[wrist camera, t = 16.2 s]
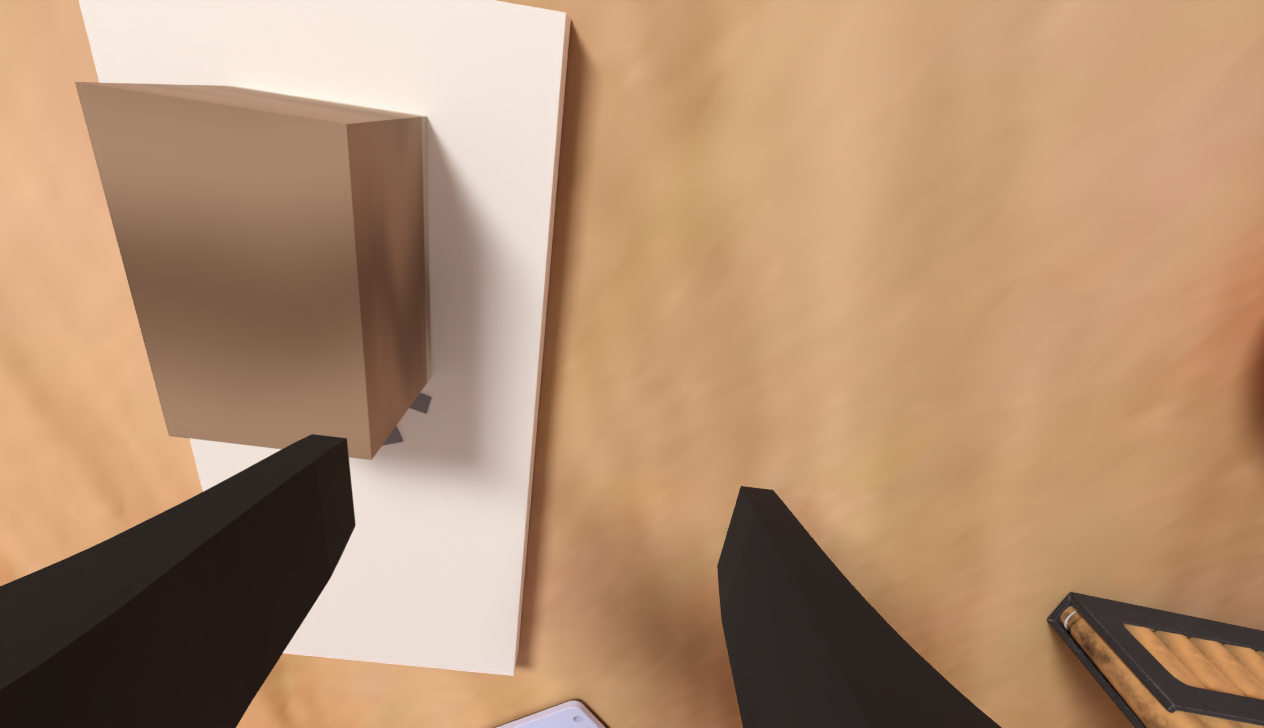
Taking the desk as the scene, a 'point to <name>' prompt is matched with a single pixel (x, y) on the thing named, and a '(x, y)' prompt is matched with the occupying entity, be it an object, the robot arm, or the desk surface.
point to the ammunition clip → (1167, 663)
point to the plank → (459, 291)
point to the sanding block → (270, 257)
